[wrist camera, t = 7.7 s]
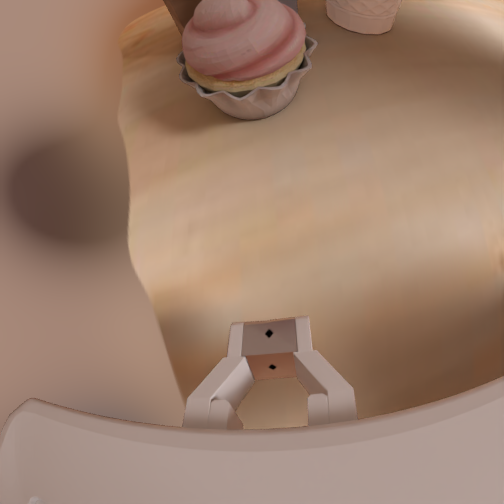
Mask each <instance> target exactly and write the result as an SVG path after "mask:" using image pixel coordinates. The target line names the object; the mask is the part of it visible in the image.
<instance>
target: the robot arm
mask: <svg viewBox="0 0 504 504" xmlns="http://www.w3.org/2000/svg"><path fill="white" fill-rule="evenodd" d="M291 377H297V379H298V380H299V381H300V383H301V384H302V385H303V387H304V388H305V389H306V390H307V392H308V393H309V394H310V396H309V397H308V398H307V400H308V426H304V427H292V428H276V429H243V426H244V425H243V423H242V422H241V420H240V419H239V417H238V416H237V414H236V413H235V410H236V409H237V407H238V406H239V404H240V403H241V401H242V400H243V399H244V397H245V396H246V394H247V393H248V391H249V390H250V388H251V386H252V385H253V383H254V382H255V381H254V380H264V379H275V378H291ZM0 504H504V376H502V377H500V378H497V379H495V380H493V381H490V382H488V383H485V384H483V385H480V386H478V387H475V388H473V389H470V390H467V391H464V392H462V393H459V394H456V395H453V396H450V397H447V398H444V399H441V400H437V401H434V402H431V403H427V404H424V405H420V406H417V407H413V408H409V409H405V410H401V411H397V412H392V413H388V414H383V415H378V416H374V417H368V418H363V419H358V416H357V409H356V402H355V396H354V389H353V387H352V386H351V385H350V384H349V383H348V382H347V381H346V380H345V379H344V378H343V377H342V376H341V375H340V374H339V373H338V372H337V371H336V370H335V369H334V368H333V367H332V366H331V365H330V364H329V362H328V361H327V360H326V359H325V358H324V357H323V356H322V355H321V354H320V353H319V352H318V351H317V350H313V349H312V340H311V331H310V322H309V316H299V317H289V318H281V319H273V320H266V321H252V322H237V323H232V324H231V326H230V334H229V342H228V351H227V357H223V358H222V359H221V361H220V362H219V363H218V364H217V365H216V366H215V367H214V369H213V370H212V371H211V372H210V373H209V374H208V375H207V377H206V378H205V379H204V380H203V381H202V382H201V383H200V385H199V386H198V387H197V388H196V389H195V390H194V391H193V392H192V393H191V395H190V396H189V397H188V398H187V403H186V409H185V414H184V420H183V425H182V427H173V426H164V425H155V424H147V423H140V422H133V421H127V420H121V419H116V418H110V417H105V416H100V415H95V414H91V413H87V412H82V411H78V410H74V409H70V408H67V407H63V406H59V405H56V404H52V403H49V402H46V401H42V400H39V399H36V398H30V399H28V400H26V401H25V402H24V403H22V404H21V405H20V406H19V407H18V408H17V409H15V410H14V411H13V412H12V413H11V414H10V415H9V417H8V419H7V421H6V422H5V425H4V427H3V429H2V431H1V434H0Z"/></svg>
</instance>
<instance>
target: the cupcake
mask: <svg viewBox="0 0 504 504" xmlns="http://www.w3.org/2000/svg"><path fill="white" fill-rule="evenodd" d="M305 28H306V25H305V23H303V21H302V20H301V18H300V16H299V15H298V14H297V13H296V12H295V11H294V10H293V9H291V8H290V7H288V6H287V5H284V4H282V3H280V2H279V1H278V0H202V1H201V2H200V3H199V4H198V6H197V7H196V9H195V11H194V16H193V17H192V18H191V20H190V21H189V22H188V23H187V25H186V27H185V29H184V32H183V35H182V47H183V51H182V52H181V53H180V54H179V55H178V57H177V58H176V60H177V63H178V64H180V65H181V66H183V68H182V70H181V72H180V74H179V77H180V80H181V81H182V82H184V83H185V84H187V85H189V86H191V87H193V88H195V89H196V90H197V93H198V94H199V95H200V96H201V97H204V98H207V99H209V100H211V101H212V102H213V103H214V104H215V105H216V106H217V107H218V108H219V109H220V110H222V111H223V112H224V113H226V114H228V115H230V116H233V117H236V118H240V119H249V120H251V119H261V118H266V117H269V116H271V115H274V114H276V113H278V112H279V111H281V110H282V109H284V108H285V107H286V106H287V105H288V104H289V103H290V102H291V101H292V99H293V98H294V96H295V94H296V92H297V89H298V86H299V82H300V79H301V78H302V77H303V76H304V75H305V74H306V73H307V72H308V71H309V70H310V69H311V68H312V63H311V61H310V59H309V56H310V55H311V53H312V52H313V50H314V49H315V48H316V46H317V44H318V42H317V41H316V40H314V39H312V38H311V37H309V36H307V35H306V31H305Z"/></svg>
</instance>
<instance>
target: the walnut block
mask: <svg viewBox="0 0 504 504" xmlns="http://www.w3.org/2000/svg"><path fill="white" fill-rule="evenodd" d="M163 1H164V2H165V4H166V6H167V8H168V10H169V12H170V14H171V16H172V18H173V20H174V21H175V23H176V25H177V27H178V29H179V31H180V33H181V35H183V32H184V29H185V27H186V25H187V23H188V22H189V21H190V20H191V18H192V17H193V16H194V11H195V9H196V7H197V6H198V4H199V3H200V2H201V1H202V0H163Z"/></svg>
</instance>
